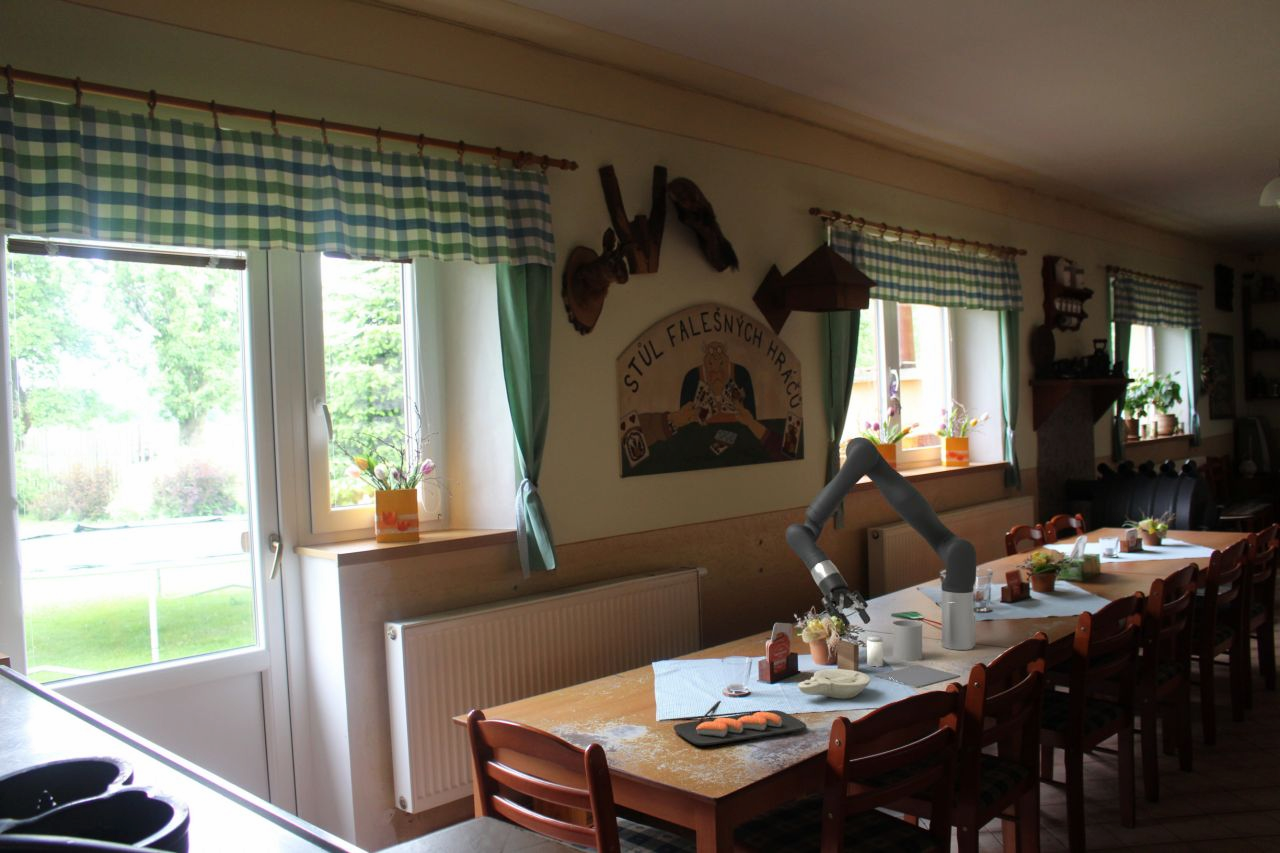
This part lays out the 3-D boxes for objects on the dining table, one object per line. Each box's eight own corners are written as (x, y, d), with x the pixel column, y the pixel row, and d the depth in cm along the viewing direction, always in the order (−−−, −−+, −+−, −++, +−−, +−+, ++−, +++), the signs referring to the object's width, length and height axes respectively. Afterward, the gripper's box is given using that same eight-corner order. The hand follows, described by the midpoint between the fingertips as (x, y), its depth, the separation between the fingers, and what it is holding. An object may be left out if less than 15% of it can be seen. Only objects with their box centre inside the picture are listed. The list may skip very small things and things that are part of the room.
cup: (923, 661, 285) (923, 627, 284) (893, 660, 286) (893, 626, 286) (920, 654, 293) (920, 620, 293) (892, 653, 294) (892, 619, 294)
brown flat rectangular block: (842, 668, 278) (842, 640, 278) (858, 673, 273) (858, 644, 273) (837, 669, 277) (837, 641, 277) (853, 674, 272) (853, 645, 272)
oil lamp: (820, 711, 240) (820, 690, 240) (781, 696, 252) (781, 677, 252) (882, 697, 251) (882, 677, 251) (842, 683, 263) (842, 665, 263)
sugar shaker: (874, 662, 284) (874, 634, 284) (886, 665, 281) (886, 637, 281) (863, 664, 282) (863, 636, 282) (875, 667, 278) (875, 639, 278)
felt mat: (918, 665, 280) (918, 664, 280) (960, 676, 269) (960, 675, 269) (875, 676, 270) (875, 675, 270) (916, 688, 258) (916, 686, 258)
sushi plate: (697, 753, 212) (697, 736, 212) (641, 714, 240) (641, 698, 240) (812, 734, 224) (812, 718, 224) (746, 699, 252) (746, 684, 252)
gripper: (818, 574, 289) (847, 619, 280) (852, 569, 297) (881, 613, 288) (805, 589, 294) (834, 635, 284) (839, 584, 302) (867, 628, 293)
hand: (858, 624), depth 286 cm, fingers open, 8 cm apart
